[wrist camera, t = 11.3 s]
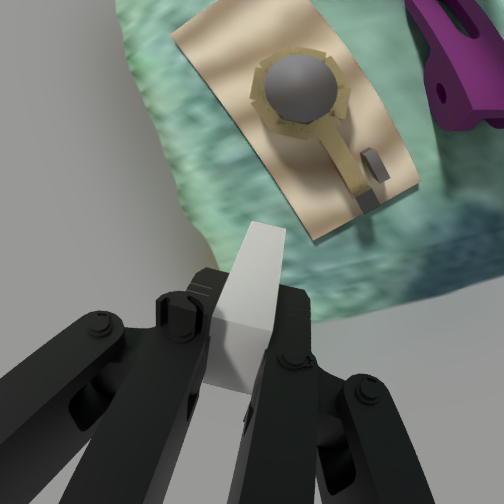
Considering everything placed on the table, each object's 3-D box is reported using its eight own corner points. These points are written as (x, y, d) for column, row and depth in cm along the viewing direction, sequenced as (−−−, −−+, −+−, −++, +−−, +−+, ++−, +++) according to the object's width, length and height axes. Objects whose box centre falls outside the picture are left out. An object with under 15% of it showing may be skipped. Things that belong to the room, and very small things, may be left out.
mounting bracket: (385, 19, 26) (441, 142, 25) (392, -26, 17) (472, 109, 17) (445, 20, 23) (503, 137, 23) (460, -18, 15) (540, 111, 15)
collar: (241, 84, 26) (231, 79, 22) (310, 42, 23) (313, 29, 19) (328, 215, 31) (333, 231, 27) (395, 177, 28) (410, 188, 24)
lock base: (173, 37, 26) (134, 18, 18) (278, -28, 21) (270, -68, 13) (312, 236, 34) (316, 276, 26) (417, 178, 29) (453, 202, 21)
